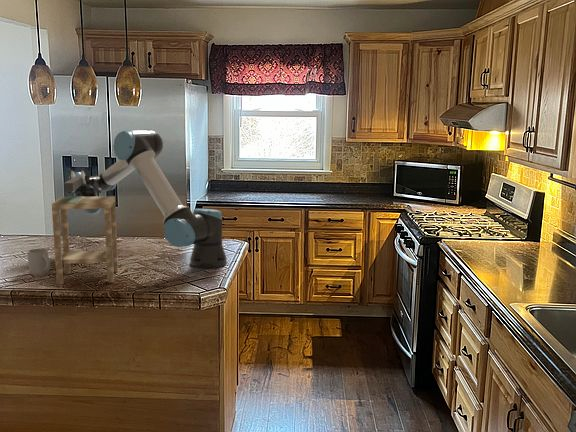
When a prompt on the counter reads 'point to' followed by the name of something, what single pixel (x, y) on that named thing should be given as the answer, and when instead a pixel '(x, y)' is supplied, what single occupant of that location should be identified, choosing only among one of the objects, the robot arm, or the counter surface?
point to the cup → (38, 261)
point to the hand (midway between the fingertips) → (77, 174)
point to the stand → (69, 257)
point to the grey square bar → (73, 183)
